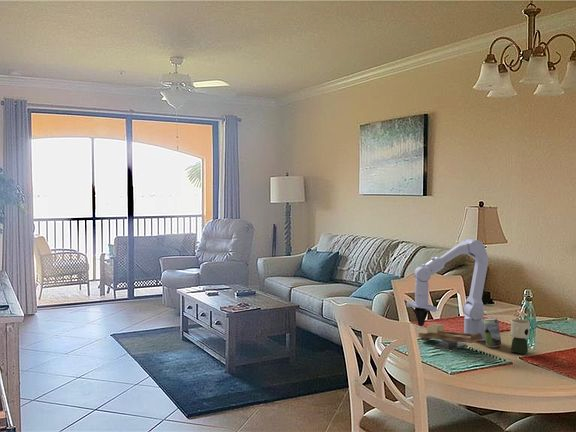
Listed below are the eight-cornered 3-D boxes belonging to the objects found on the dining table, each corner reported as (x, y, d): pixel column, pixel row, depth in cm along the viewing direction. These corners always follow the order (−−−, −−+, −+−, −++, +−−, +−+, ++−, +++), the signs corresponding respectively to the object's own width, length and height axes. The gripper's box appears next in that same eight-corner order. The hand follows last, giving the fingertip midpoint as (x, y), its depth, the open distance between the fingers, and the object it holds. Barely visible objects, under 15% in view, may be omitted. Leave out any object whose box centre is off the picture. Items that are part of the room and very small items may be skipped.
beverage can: (498, 349, 230) (499, 321, 230) (480, 346, 235) (481, 318, 234) (503, 346, 235) (503, 318, 235) (485, 343, 240) (486, 315, 239)
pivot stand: (466, 345, 236) (466, 338, 236) (449, 351, 228) (449, 344, 227) (449, 341, 242) (449, 334, 242) (432, 347, 234) (432, 340, 233)
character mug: (526, 357, 220) (527, 325, 219) (507, 354, 224) (507, 322, 223) (531, 350, 229) (532, 319, 228) (512, 348, 233) (513, 317, 232)
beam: (483, 342, 228) (482, 332, 228) (471, 346, 222) (470, 336, 223) (430, 337, 247) (429, 327, 247) (418, 340, 241) (418, 331, 241)
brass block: (444, 333, 239) (443, 324, 240) (437, 336, 236) (436, 326, 236) (434, 332, 243) (433, 323, 243) (427, 335, 240) (426, 325, 240)
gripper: (402, 293, 247) (401, 323, 248) (430, 298, 236) (430, 330, 237) (411, 291, 252) (411, 321, 253) (440, 296, 241) (439, 327, 242)
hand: (421, 325), depth 245 cm, fingers closed
